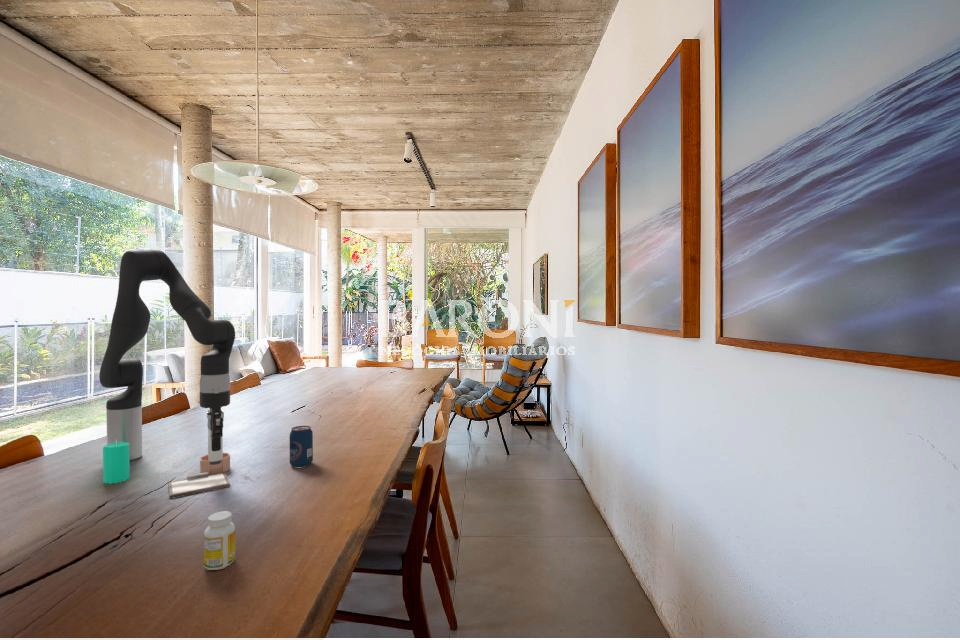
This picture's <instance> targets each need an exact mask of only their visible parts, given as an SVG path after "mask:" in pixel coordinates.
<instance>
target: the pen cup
mask: <svg viewBox="0 0 960 640" xmlns="http://www.w3.org/2000/svg"><path fill="white" fill-rule="evenodd" d="M230 469H231V455H230V453H229V452H223V459H222V460H221V463H220V464H216V465H210V464H209V461H208V453H207V454H205V455H203V456H200V457H199V473H205V472H208V475H212V474H218V473H223V472H225V473H227V472H229V470H230ZM226 471H227V472H226Z"/></svg>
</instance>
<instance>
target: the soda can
mask: <svg viewBox="0 0 960 640" xmlns="http://www.w3.org/2000/svg"><path fill="white" fill-rule="evenodd" d="M311 428H312V427H311V426H310V425H297V426H294V427H291V431H290V432H289V464H290V466H291V467H292V466H293V467H292V468H294V467H303V468H305V467H304V466H307V467H309V466H311V464H312V462H313V459H314V452H313V451H314V444H313V443H314V442H313V441H314V440H313V438H314V435H313V431H312V429H311ZM308 465H309V466H308Z"/></svg>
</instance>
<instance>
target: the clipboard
mask: <svg viewBox="0 0 960 640" xmlns="http://www.w3.org/2000/svg"><path fill="white" fill-rule="evenodd" d="M229 486H230V487H231V483H230V481H229V478H228V476H227V473H226V472H223V473H218V474H212V475H208V472H205V473H200V472H199V473H195V474H194V473H193V474H189V475H187V476H186V479H181V480H175V481H170V482H168V498H169V497H170V498H171V499H174V498H173V497H176V498H179V497H178V496H180V497H183V496H182V495H185V496H189V495H188V494H190V495H194V494H193V493H195V494H199V493H198V492H200V493H204V492H203V491H205V492H209V491H208V490H210V491H213V490H214V489H215V490H219V488H220V489H224V487H225V488H228V487H229ZM230 487H229V488H230ZM215 490H214V491H215ZM170 498H169V499H170Z"/></svg>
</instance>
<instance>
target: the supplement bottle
mask: <svg viewBox="0 0 960 640" xmlns="http://www.w3.org/2000/svg"><path fill="white" fill-rule="evenodd" d="M232 519H233V514H232V512H231V511H228V510H227V511H224V510H223V511H218V512H214V513H212V514H211V515H209V516H208V517H207V525H208V526H207V527H206V528H205V530H204V532H203V568H204V567H205V568H208V569H217V568H221V567H224V566H226V565H228V564H230V563H231V562H232V561H233V560H234V559H235V560H236V525H235V523H234V522H232ZM205 568H204V569H205Z"/></svg>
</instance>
